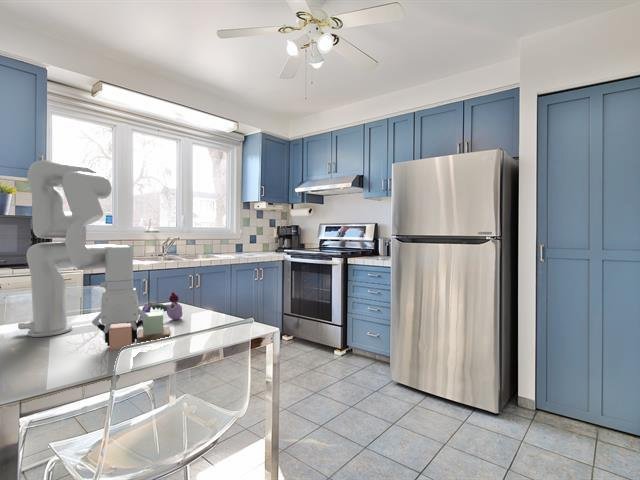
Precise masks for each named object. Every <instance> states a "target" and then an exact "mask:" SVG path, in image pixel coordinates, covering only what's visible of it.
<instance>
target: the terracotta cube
mask: <svg viewBox="0 0 640 480" xmlns="http://www.w3.org/2000/svg"><path fill="white" fill-rule="evenodd" d="M131 344H133V345H134V343H132V326H131V324H130V323H120V324H111V326H110V328H109V346H108V347H109V350H117V349H123V348H122V347H124V346H127V345H131Z"/></svg>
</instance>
